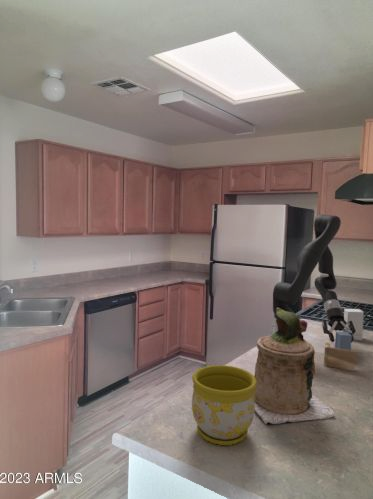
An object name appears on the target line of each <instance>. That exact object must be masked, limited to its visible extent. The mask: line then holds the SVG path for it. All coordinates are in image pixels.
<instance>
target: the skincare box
mask: <svg viewBox="0 0 373 499" xmlns="http://www.w3.org/2000/svg"><path fill="white" fill-rule="evenodd" d="M343 311H344V312H343V315H344V320H345V321H346V322H349V321H352V323H353V325H354V328H355V330H356V332H355V333H354V334H352V335H353V338H354V340H353V341H363V331H364V329H363V328H364V313H365V312H364V311H363V310H361V309H360V308H344V310H343ZM346 326H347V325H346ZM347 327H348V328H349V326H347ZM344 329H345V328H344Z"/></svg>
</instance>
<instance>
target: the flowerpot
mask: <svg viewBox="0 0 373 499" xmlns="http://www.w3.org/2000/svg"><path fill="white" fill-rule="evenodd" d="M192 374H193V375H192V382H193V387H192V388H193V392H192V396H191V397H192V398H191V410H192V411H191V412H192V415H193V418H194V420H195V423H196V424H197V425H196V426H197V427H196V429H197V431H198V434H200V435H201V437H202V439H204V440H205V441H207V442H208V441H209V442H208V443H210V442H211V443H210V444H213V443H214V444H213V445H216V444H218V445H217V446H221V445H229V446H233V445H232V444H234V445H237V444H239V443H241V442H242V441H243V440H244V439H245V438H246V437H247V435H248V433H249V432H248V429H249V428H250V426H251V425H252V422H253V420H254V417H255V412H256V411H255V397H254V393H255V387H256V384H257V382H256V378H255V377H254V375H253V373H251V372H250V371H248V370H246V369H243V368H241V367H237V366H233V365H223V364H219V365H218V364H217V365H215V364H213V365H208V366H205V367H204V366H203V367H201V368H198V369H196V370H195V371H194V373H192ZM241 440H242V441H241ZM238 442H239V443H238ZM236 443H237V444H236Z"/></svg>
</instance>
